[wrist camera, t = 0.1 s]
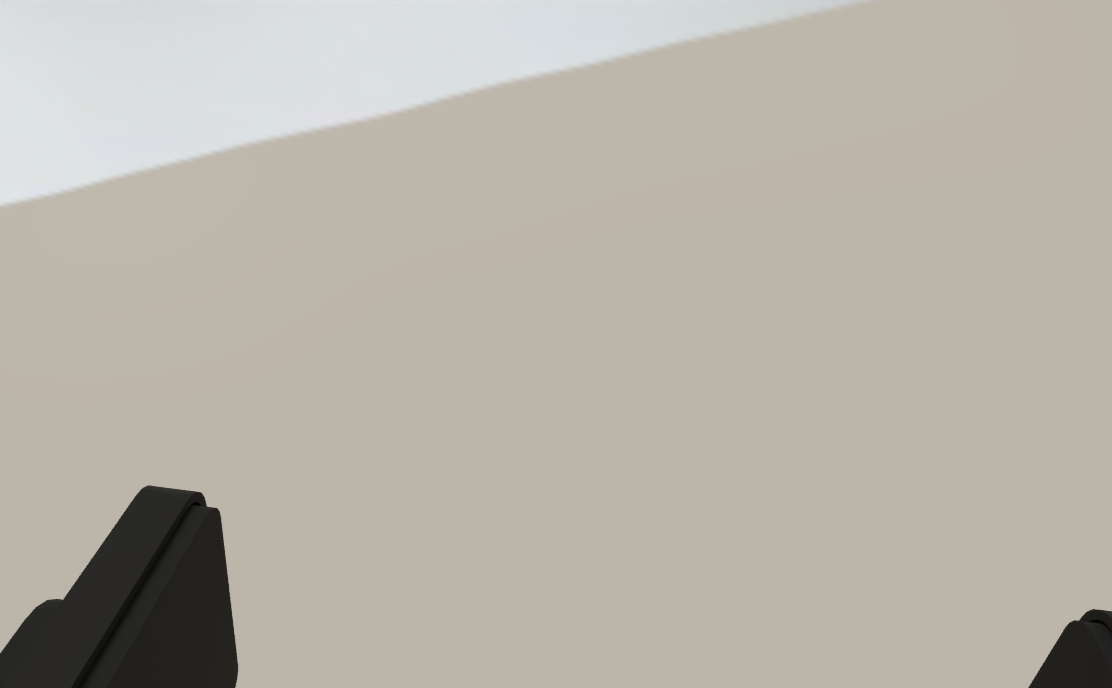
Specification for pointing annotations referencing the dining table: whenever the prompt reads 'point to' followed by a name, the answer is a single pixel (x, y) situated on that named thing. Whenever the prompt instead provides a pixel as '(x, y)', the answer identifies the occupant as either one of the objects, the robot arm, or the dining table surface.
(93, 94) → the dining table surface
